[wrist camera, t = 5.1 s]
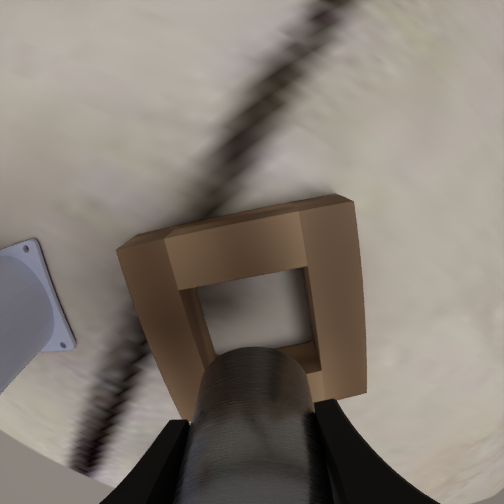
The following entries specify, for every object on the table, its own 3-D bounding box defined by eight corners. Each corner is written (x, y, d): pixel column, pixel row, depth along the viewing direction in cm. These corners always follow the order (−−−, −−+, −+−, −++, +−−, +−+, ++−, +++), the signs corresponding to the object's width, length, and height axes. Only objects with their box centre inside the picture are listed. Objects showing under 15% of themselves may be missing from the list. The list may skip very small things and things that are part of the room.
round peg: (218, 432, 12) (196, 608, 4) (185, 357, 11) (117, 570, 3) (314, 417, 11) (349, 599, 4) (299, 336, 10) (350, 571, 3)
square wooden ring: (190, 391, 20) (183, 421, 17) (136, 234, 17) (115, 249, 14) (354, 364, 19) (366, 392, 16) (336, 193, 16) (353, 201, 13)
